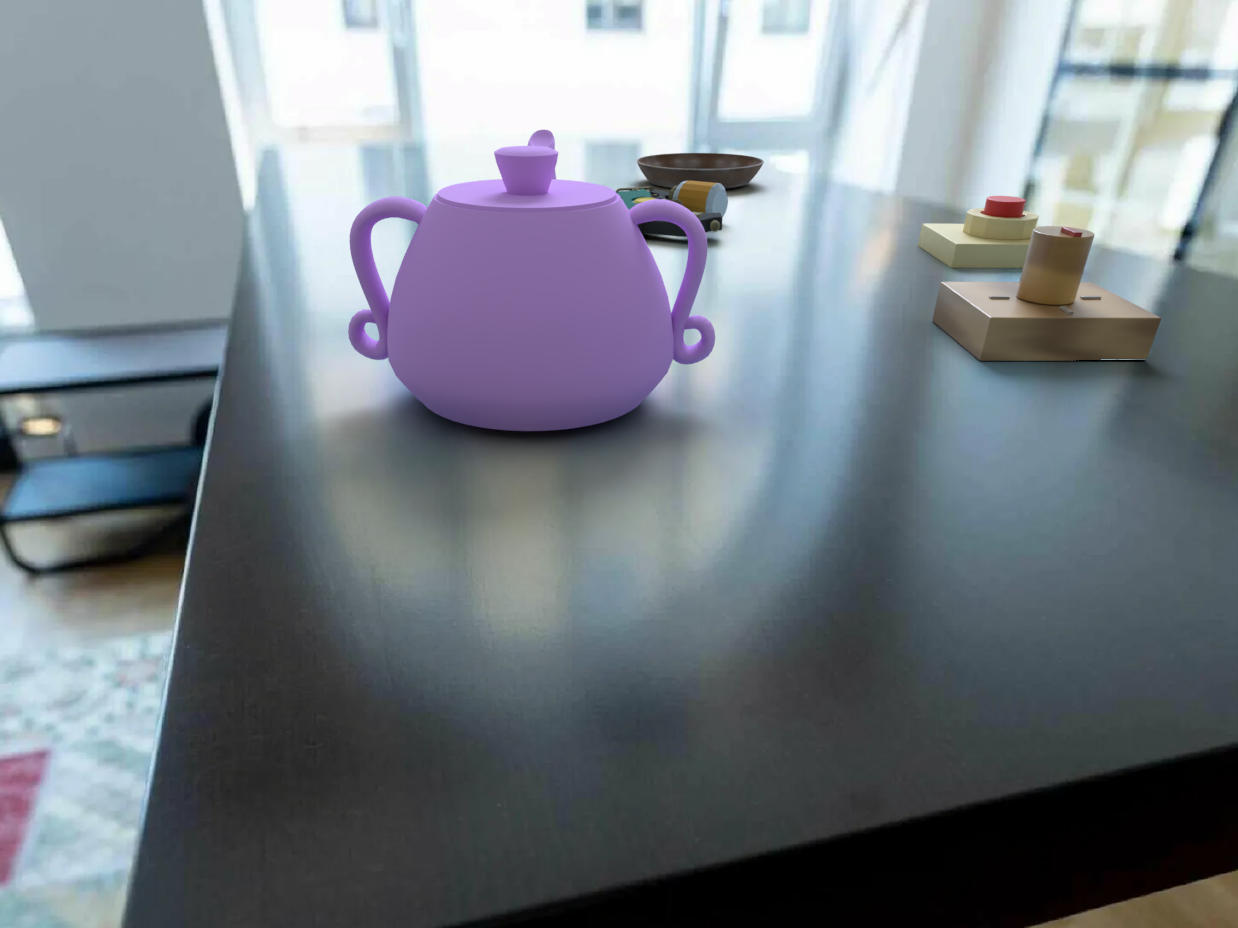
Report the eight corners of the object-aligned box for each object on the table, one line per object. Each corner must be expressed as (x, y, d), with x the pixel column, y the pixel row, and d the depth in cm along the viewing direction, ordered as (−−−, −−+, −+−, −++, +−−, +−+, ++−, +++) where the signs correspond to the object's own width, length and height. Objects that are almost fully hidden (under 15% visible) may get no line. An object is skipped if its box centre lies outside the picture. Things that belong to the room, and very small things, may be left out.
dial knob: (1006, 291, 68) (1024, 221, 65) (1058, 290, 68) (1078, 221, 65) (1030, 305, 64) (1050, 232, 62) (1085, 305, 65) (1107, 232, 62)
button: (1012, 214, 91) (1017, 195, 90) (1027, 221, 88) (1032, 202, 87) (976, 214, 90) (981, 195, 89) (990, 221, 87) (995, 201, 86)
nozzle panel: (1080, 321, 72) (1092, 279, 70) (1146, 361, 64) (1163, 315, 62) (931, 321, 72) (940, 279, 70) (979, 361, 63) (991, 315, 62)
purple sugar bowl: (691, 337, 67) (706, 124, 59) (725, 454, 49) (753, 173, 42) (395, 334, 67) (371, 120, 59) (323, 450, 49) (274, 167, 41)
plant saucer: (611, 184, 126) (611, 159, 124) (677, 170, 138) (678, 147, 136) (722, 198, 118) (724, 172, 116) (782, 182, 130) (785, 158, 128)
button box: (1029, 246, 95) (1040, 204, 93) (1073, 268, 87) (1087, 223, 85) (917, 245, 95) (925, 204, 93) (950, 268, 87) (961, 223, 84)
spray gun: (714, 254, 94) (577, 249, 97) (742, 215, 106) (620, 212, 110) (716, 210, 91) (574, 206, 95) (744, 175, 103) (619, 173, 107)
